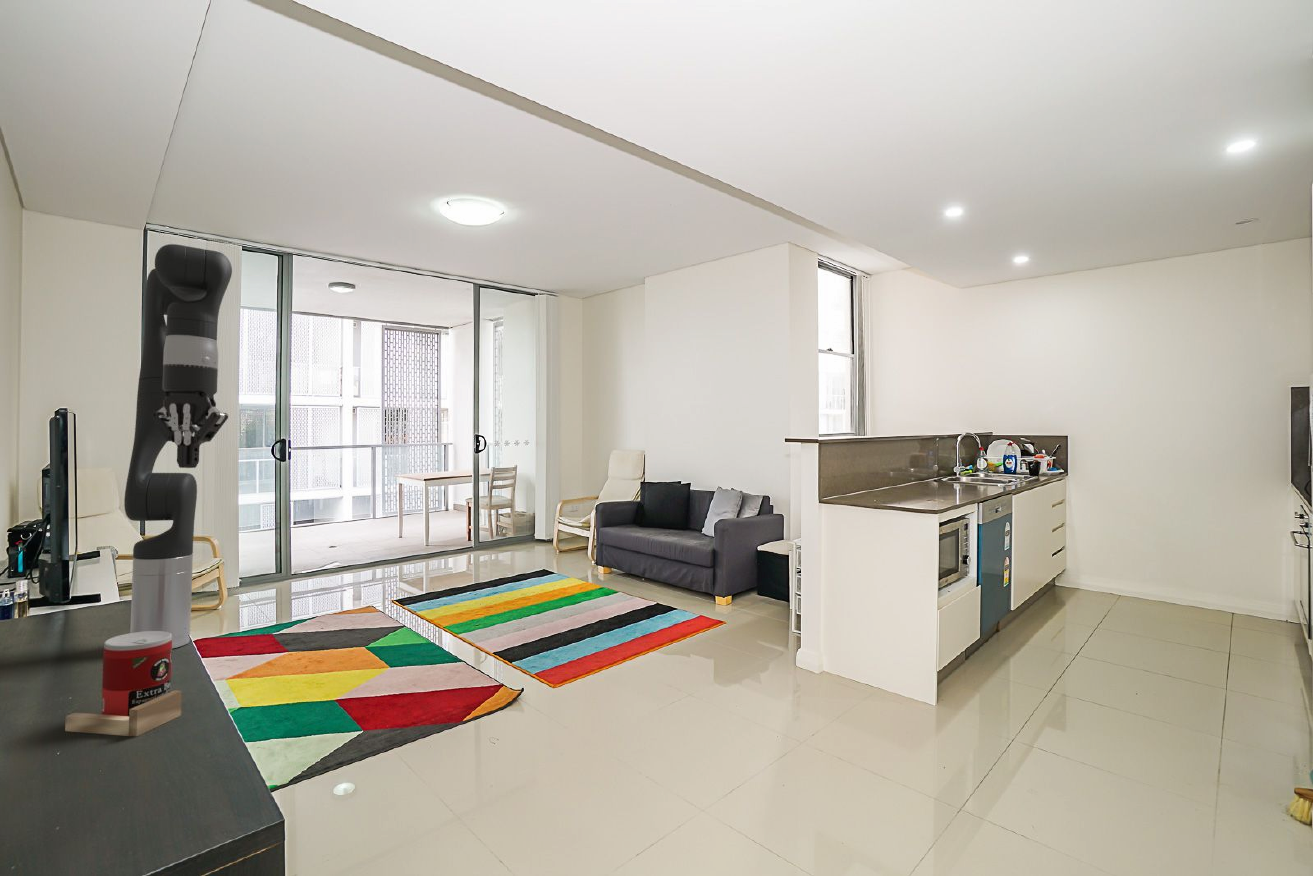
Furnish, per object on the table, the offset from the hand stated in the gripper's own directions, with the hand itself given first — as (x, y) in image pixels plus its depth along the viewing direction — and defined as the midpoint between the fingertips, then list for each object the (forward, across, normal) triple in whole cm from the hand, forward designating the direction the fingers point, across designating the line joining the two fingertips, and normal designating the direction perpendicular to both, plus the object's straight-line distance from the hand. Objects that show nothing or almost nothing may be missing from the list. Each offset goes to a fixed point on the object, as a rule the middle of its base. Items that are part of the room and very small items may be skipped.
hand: (187, 467), depth 109 cm
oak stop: (+35, -8, +18) cm, 40 cm away
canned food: (+35, -7, +15) cm, 39 cm away
